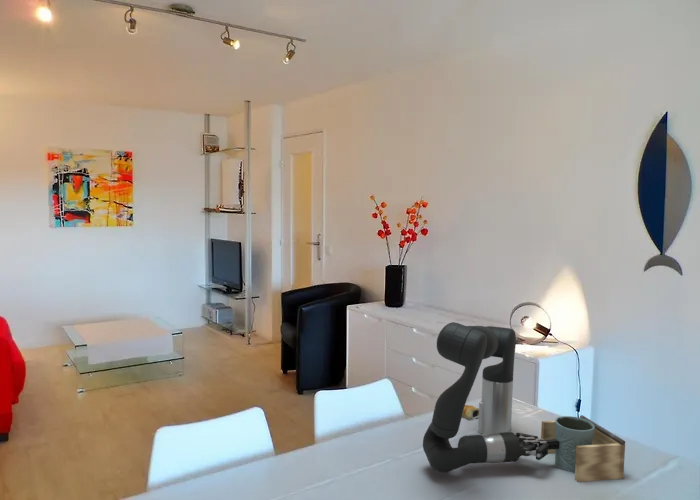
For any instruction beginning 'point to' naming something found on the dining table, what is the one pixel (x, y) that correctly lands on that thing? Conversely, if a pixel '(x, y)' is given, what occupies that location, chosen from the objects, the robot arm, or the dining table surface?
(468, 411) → the pastry
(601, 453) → the oak caddy
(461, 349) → the robot arm
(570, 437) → the green ceramic pot
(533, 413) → the dining table surface
